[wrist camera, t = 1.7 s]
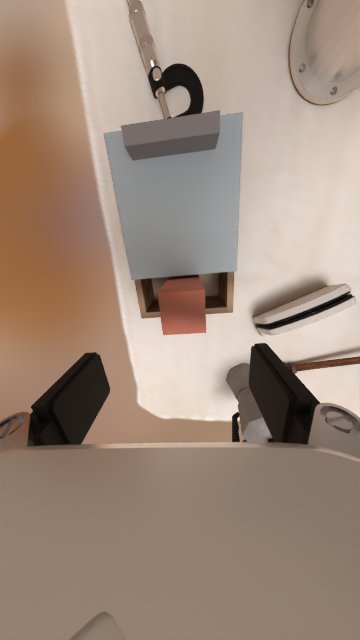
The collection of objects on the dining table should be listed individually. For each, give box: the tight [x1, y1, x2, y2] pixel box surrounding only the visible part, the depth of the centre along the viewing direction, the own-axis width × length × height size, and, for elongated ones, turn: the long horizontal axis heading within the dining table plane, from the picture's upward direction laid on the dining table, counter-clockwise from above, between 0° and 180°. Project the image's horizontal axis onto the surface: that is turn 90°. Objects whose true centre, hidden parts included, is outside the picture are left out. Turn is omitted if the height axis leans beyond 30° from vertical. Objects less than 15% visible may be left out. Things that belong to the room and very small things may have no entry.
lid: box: [104, 111, 243, 280], centre depth 21 cm, size 17×16×4 cm
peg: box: [157, 274, 206, 335], centre depth 27 cm, size 5×5×18 cm
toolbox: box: [135, 271, 234, 318], centre depth 29 cm, size 24×16×9 cm, turn 5°
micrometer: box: [127, 0, 204, 119], centre depth 24 cm, size 15×7×2 cm, turn 21°
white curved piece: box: [253, 284, 356, 336], centre depth 33 cm, size 17×5×10 cm, turn 118°
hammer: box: [285, 357, 360, 374], centre depth 38 cm, size 7×33×10 cm, turn 109°
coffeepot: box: [226, 364, 274, 442], centre depth 37 cm, size 15×9×18 cm, turn 145°
